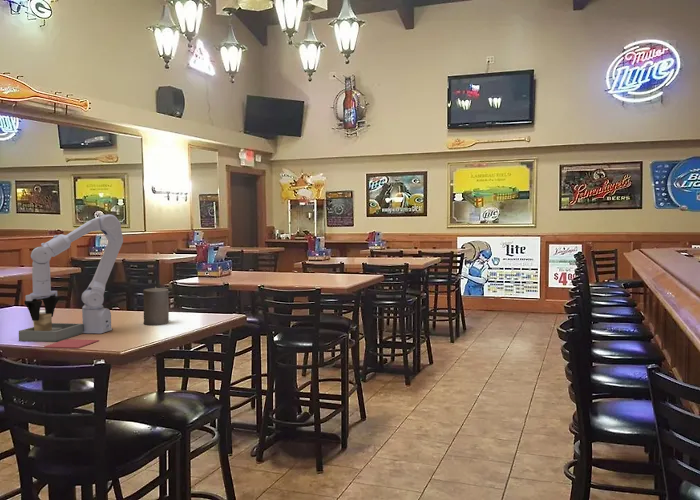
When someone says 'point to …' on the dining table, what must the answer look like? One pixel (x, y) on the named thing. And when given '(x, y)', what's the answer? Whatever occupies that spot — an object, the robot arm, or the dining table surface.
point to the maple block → (43, 323)
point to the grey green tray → (52, 333)
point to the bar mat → (71, 343)
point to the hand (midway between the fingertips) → (42, 318)
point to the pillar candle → (156, 306)
